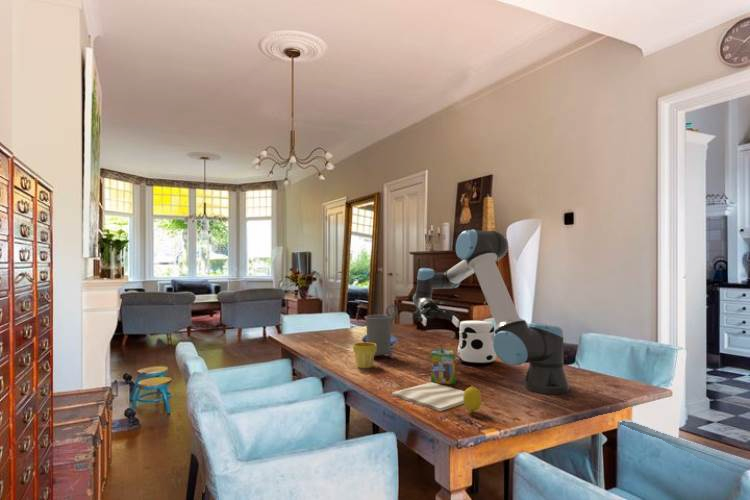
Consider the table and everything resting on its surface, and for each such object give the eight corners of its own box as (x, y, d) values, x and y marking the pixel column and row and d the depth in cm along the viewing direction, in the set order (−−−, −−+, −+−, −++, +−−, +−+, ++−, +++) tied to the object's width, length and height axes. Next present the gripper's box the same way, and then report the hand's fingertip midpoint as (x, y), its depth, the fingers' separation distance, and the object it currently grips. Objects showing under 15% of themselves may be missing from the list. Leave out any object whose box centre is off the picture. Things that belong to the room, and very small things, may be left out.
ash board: (479, 398, 155) (479, 395, 155) (440, 411, 142) (440, 408, 142) (431, 384, 172) (431, 382, 172) (392, 395, 159) (392, 392, 159)
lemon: (473, 416, 137) (473, 389, 138) (459, 411, 142) (459, 385, 142) (485, 412, 141) (485, 386, 141) (471, 408, 145) (471, 382, 145)
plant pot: (377, 363, 206) (377, 342, 206) (375, 369, 196) (375, 346, 196) (354, 363, 207) (354, 341, 207) (351, 369, 197) (351, 346, 197)
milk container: (504, 362, 208) (503, 322, 208) (481, 369, 196) (481, 326, 196) (472, 356, 220) (472, 319, 221) (449, 362, 209) (449, 322, 209)
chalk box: (455, 385, 171) (455, 345, 171) (430, 384, 172) (430, 345, 173) (455, 378, 180) (454, 341, 180) (431, 378, 182) (431, 340, 182)
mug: (369, 361, 210) (369, 307, 210) (356, 355, 223) (356, 304, 224) (405, 358, 218) (404, 305, 218) (390, 352, 231) (390, 302, 232)
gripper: (454, 317, 207) (470, 333, 186) (400, 314, 203) (410, 331, 182) (456, 301, 205) (472, 315, 185) (401, 298, 201) (412, 313, 181)
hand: (441, 323), depth 183 cm, fingers open, 13 cm apart
